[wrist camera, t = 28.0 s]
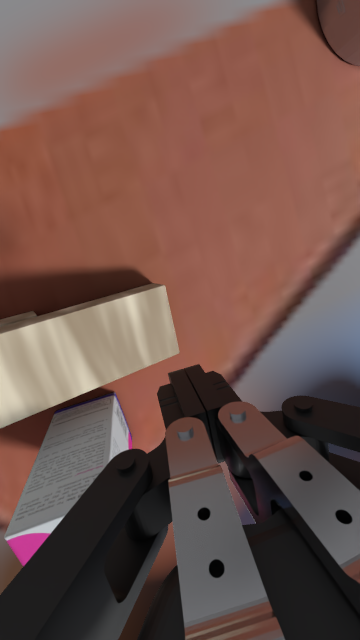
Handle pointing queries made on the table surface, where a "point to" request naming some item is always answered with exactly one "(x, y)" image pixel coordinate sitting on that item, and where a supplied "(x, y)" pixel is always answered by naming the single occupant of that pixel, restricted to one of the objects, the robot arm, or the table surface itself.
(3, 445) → the table surface
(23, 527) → the supplement box
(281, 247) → the table surface
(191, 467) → the robot arm
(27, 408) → the tan flat rectangular block
